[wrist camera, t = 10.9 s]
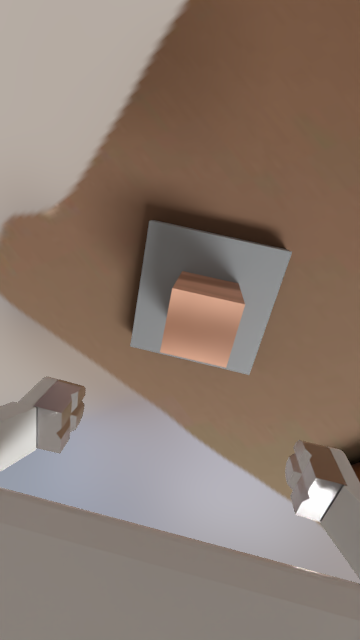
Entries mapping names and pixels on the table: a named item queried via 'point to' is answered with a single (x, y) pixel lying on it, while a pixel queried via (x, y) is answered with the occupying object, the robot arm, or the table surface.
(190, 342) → the terracotta block
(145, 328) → the slate base
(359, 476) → the sunglasses case
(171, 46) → the table surface
